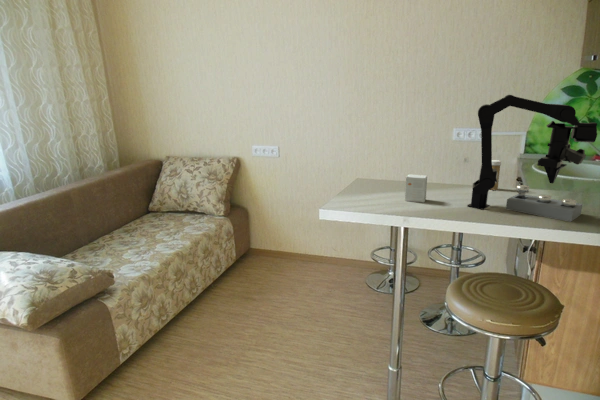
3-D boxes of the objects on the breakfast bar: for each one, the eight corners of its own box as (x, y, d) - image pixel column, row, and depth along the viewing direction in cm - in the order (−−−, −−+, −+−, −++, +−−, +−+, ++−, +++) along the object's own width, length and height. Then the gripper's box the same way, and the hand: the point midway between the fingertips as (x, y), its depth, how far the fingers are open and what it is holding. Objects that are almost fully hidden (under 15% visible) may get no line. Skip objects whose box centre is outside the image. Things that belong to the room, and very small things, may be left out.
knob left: (525, 200, 156) (526, 188, 155) (513, 198, 159) (514, 186, 158) (529, 198, 159) (531, 186, 157) (517, 196, 162) (519, 184, 161)
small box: (426, 199, 173) (427, 175, 170) (424, 202, 168) (425, 178, 166) (407, 197, 177) (408, 173, 174) (404, 200, 172) (405, 176, 169)
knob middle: (547, 210, 151) (549, 198, 149) (534, 208, 154) (536, 196, 153) (551, 208, 154) (553, 196, 152) (538, 206, 157) (540, 194, 155)
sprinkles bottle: (499, 189, 188) (503, 160, 184) (494, 190, 185) (497, 161, 182) (490, 187, 191) (493, 159, 188) (485, 188, 189) (488, 160, 185)
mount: (570, 221, 142) (572, 210, 141) (505, 209, 158) (507, 199, 157) (580, 214, 150) (582, 204, 149) (517, 202, 166) (519, 193, 165)
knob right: (572, 215, 145) (574, 202, 144) (558, 213, 148) (560, 200, 147) (575, 212, 148) (578, 200, 147) (562, 210, 151) (564, 198, 150)
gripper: (577, 145, 134) (568, 191, 138) (593, 141, 146) (584, 183, 150) (540, 142, 142) (533, 185, 146) (558, 137, 154) (551, 178, 158)
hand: (551, 183), depth 150 cm, fingers closed
